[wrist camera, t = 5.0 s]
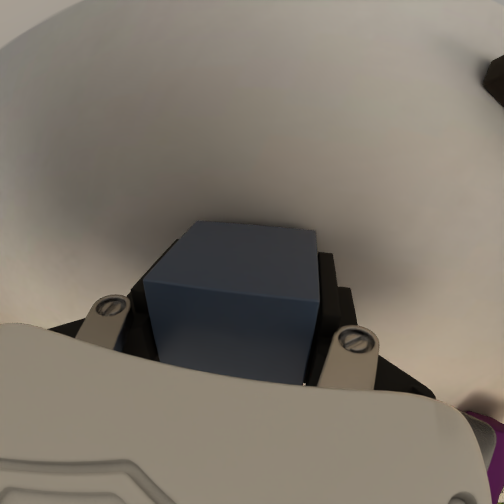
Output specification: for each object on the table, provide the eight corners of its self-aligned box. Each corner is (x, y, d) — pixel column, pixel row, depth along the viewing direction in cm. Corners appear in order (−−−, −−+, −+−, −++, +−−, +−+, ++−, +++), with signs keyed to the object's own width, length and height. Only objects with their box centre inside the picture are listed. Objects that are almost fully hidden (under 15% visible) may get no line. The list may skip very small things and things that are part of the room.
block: (196, 219, 11) (141, 279, 7) (315, 229, 11) (320, 300, 7) (202, 314, 13) (166, 388, 9) (302, 326, 13) (297, 410, 9)
